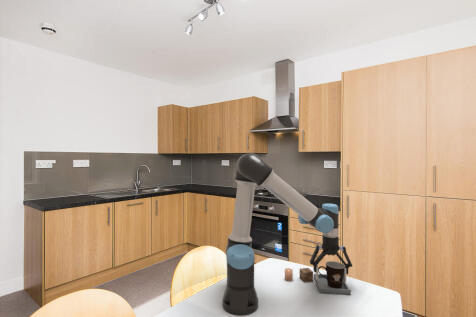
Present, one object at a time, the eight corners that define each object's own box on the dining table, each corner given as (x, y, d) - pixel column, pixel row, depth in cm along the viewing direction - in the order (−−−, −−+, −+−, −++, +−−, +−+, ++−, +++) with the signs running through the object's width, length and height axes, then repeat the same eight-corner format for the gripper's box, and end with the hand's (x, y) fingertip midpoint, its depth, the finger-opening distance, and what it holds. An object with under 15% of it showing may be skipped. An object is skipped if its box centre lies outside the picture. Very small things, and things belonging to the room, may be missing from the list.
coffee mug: (345, 284, 121) (346, 263, 121) (342, 291, 114) (343, 270, 114) (321, 277, 127) (321, 258, 127) (317, 284, 120) (317, 264, 120)
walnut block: (304, 282, 124) (304, 272, 124) (299, 278, 129) (299, 268, 129) (313, 281, 125) (313, 271, 125) (308, 277, 130) (308, 267, 130)
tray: (319, 293, 114) (319, 288, 114) (313, 277, 129) (313, 273, 129) (350, 295, 112) (350, 290, 112) (340, 279, 127) (340, 275, 127)
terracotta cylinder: (285, 281, 125) (285, 271, 125) (284, 277, 129) (284, 268, 129) (293, 281, 125) (292, 271, 125) (292, 278, 129) (292, 268, 129)
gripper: (306, 236, 119) (306, 281, 118) (359, 239, 116) (359, 285, 115) (303, 232, 126) (303, 274, 126) (354, 234, 123) (354, 277, 123)
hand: (330, 279), depth 120 cm, fingers closed on coffee mug, 12 cm apart
